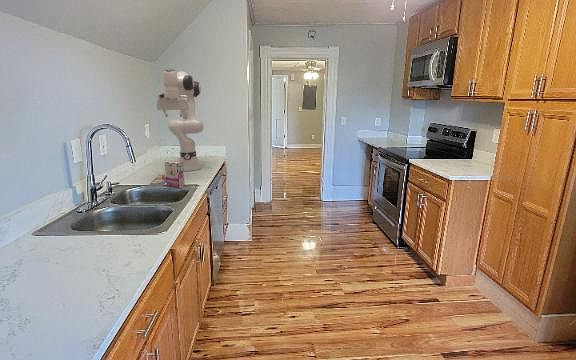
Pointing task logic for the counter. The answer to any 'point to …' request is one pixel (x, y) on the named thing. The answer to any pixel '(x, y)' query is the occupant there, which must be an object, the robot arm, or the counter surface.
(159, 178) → the wooden handled scraper
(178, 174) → the candy bar box
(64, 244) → the counter surface
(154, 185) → the mat
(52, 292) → the counter surface
